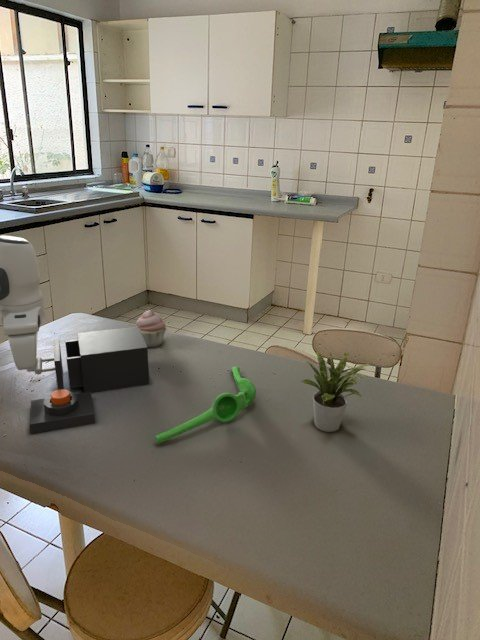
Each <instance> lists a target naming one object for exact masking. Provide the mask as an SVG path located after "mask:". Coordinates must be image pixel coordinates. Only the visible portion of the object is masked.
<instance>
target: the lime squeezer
mask: <svg viewBox="0 0 480 640" xmlns="http://www.w3.org/2000/svg"><path fill="white" fill-rule="evenodd" d="M231 371H232V375H233V379H234V382H235V384H236V386H237V388H238V389H239V392H238V393H237V394H233V393H231V392H224V393H221V394H219V395H218V396H217V397H215V399H214V400H213V403H212V405H211V407H210V408H209V409H208V410H206V411H203V412H202V413H201V414H199V415H197V416H195V417H193V418H192V419H189V420H188V421H186V422H184V423H182V424H180V425H177V426H174V427H173V428H170V429H167V430H166V431H163V432H161V433H157V434H156V435H154V438H155V441H156V443H157V444H162V443H163V442H166V441H168V440H170V439H173V438H176V437H177V436H180V435H182V434H184V433H186V432H188V431H191V430H193V429H195V428H198V427H200V426H202V425H204V424H206V423H208V422H211V421H214V420H216V421H218V422H220V423H224V424H225V423H229V422H232V421H233V420H234V419H236V418H237V416H238V415H239V413H240V412H241V411H242V410H244V409H246V408H248V406H249V405H251V404H252V403H253V402H254V401H255V399H256V396H257V389H256V386H255V384H254V383H253V381H251V380H250V379H248V378H244V377H243V378H242V376H241V374H240V371H241V370H240V367H239V366H231Z"/></svg>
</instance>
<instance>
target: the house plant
mask: <svg viewBox="0 0 480 640" xmlns="http://www.w3.org/2000/svg"><path fill="white" fill-rule="evenodd" d="M315 354H316V359H317V361H318V367H319V370H318V369H317V367H315V365H313V363H311V362H309V361H306V363H307V364H308V365H309V366H310V367H311V369H312V370H313V372H314V373H315V374H314V375H313V377H314V379H315V381H316V382H315V381H313V380H311V379H303V380H301V381H300V383H303V384H305V385H309V386H312V387H315V388H317V391H316V392H314V393H313V395H312V405H313V420H314V425H315V427H316V428H317V429H318V430H320V431H323V432H328V433H331V432H336V431H338V430H339V429H340V426H341V424H342V420H343V417H344V415H345V411H346V408H347V406H348V402H349V400H348V398H347V397H349V396H351V395H357V396H359V398H360V399H361V400H362V397H363V394H362V395H361V393H360V392H359V391H358V390H356V389H354V388H350V387H353V386H354V385H357V384H358V382H357V380H359V379H363V378H364V377H365V378H368V376H367V375H365V374H364V373H359V372H360V371H364V370H365V368H364V367H368V366H371V365H372V363H365V364H361V365H358V366H356V367H350V368H347V369H345V368H346V366H347V362H348V358H349V356H350V352H348V353H347V351H345V353H344V354H343V356H342V357H341V358H340V360H339V362H338V364H337V365H336V367H335V362H334V358H333V355H332V353H331V352H329V356H330V357H329V359H330V367H327V363H326V360H325V358H323V356H322V355H321V353H320V351H318V350H317V349H315ZM328 370H329V376H328ZM346 372H347V373H346ZM344 373H346V374H345V375H343V376H342V374H344ZM355 376H358V377H355ZM346 392H347V393H349V394H347V395H344V394H343V393H346Z"/></svg>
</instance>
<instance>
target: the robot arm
mask: <svg viewBox="0 0 480 640" xmlns="http://www.w3.org/2000/svg"><path fill="white" fill-rule="evenodd" d="M40 282H41V273H40V267H39V261H38V257H37V253H36V249H35V247H34V245H33V243H31V242H30V241H29V240H27V239H25V238H24V237H23V238H22V237H20V236H19V237H18V236H16V235H15V236H14V235H4V234H3V235H0V323H1V324H2V331H3V334H4V336H7V340H8V343H9V347H10V352H11V355H12V360H13V362H14V366H15V368H16V369H17V370H18V371H24V370H26V372H27V373H31V372H35V367H36V358H38V355H37V353H38V333H39V332H40V327H41V324H42V323H43V321H44V320H45V319H46V317H47V316H46V308H45V301H44V295H43V292H42V290H41V287H40Z"/></svg>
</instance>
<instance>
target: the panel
mask: <svg viewBox="0 0 480 640" xmlns="http://www.w3.org/2000/svg"><path fill="white" fill-rule="evenodd" d="M69 392H70V402H68V403H66V404H64V405H53V404H52V401H51V394H49V395H47V396H46V397H45V398H40V399H33V400H30V409H29V424H28V425H29V431H30V434H31V435H32V434H39V433H44V432H51V431H55V430H56V431H57V430H61V429H62V430H63V429H66V428H67V429H68V428H73V427H74V428H75V427H79V426H86V425H90V424H95V423H96V420H95V419H96V418H95V417H96V416H95V411H94V403H93V397H92V393H91V392H85V393H84V392H79V393H75V392H74V391H69Z"/></svg>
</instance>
